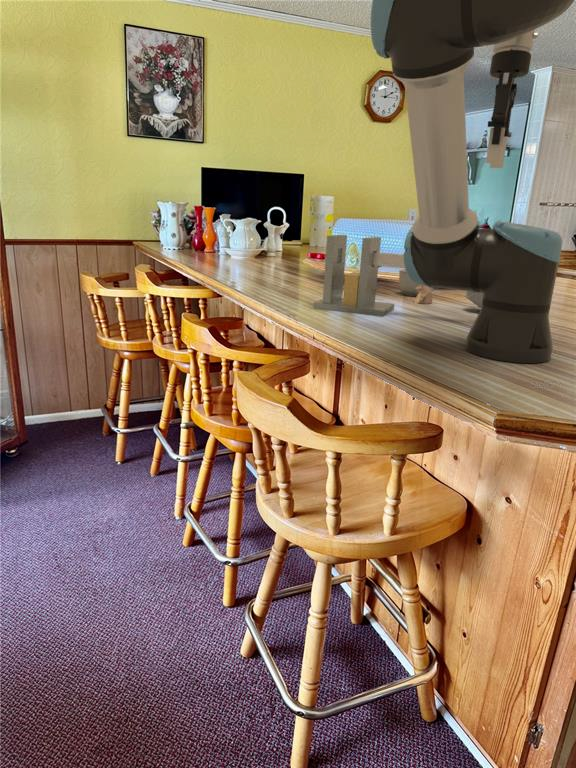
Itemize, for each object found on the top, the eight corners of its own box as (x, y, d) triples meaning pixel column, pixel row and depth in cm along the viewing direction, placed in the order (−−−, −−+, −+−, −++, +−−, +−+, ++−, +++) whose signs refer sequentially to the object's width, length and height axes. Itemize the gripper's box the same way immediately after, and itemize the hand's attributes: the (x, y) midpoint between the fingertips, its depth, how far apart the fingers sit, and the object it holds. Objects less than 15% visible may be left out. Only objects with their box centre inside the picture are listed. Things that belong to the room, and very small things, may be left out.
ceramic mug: (488, 319, 142) (511, 299, 138) (464, 302, 141) (486, 281, 136) (487, 299, 150) (508, 280, 145) (465, 283, 149) (485, 263, 144)
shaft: (474, 276, 124) (477, 258, 123) (371, 267, 133) (372, 250, 132) (476, 275, 127) (479, 257, 126) (375, 266, 136) (376, 250, 135)
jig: (382, 316, 131) (390, 240, 125) (313, 308, 137) (318, 235, 132) (393, 309, 141) (401, 238, 136) (329, 301, 148) (333, 234, 142)
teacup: (426, 299, 160) (430, 272, 158) (391, 295, 165) (394, 268, 163) (439, 294, 172) (442, 268, 169) (406, 290, 177) (409, 265, 174)
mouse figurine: (444, 305, 151) (447, 281, 149) (415, 304, 151) (418, 280, 149) (438, 302, 156) (441, 279, 154) (411, 301, 156) (414, 278, 154)
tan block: (356, 305, 135) (358, 276, 133) (342, 304, 136) (345, 274, 134) (364, 301, 142) (366, 273, 139) (351, 300, 143) (353, 272, 141)
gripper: (532, 33, 97) (511, 160, 104) (531, 67, 119) (514, 170, 126) (488, 36, 100) (470, 159, 107) (495, 69, 122) (481, 169, 129)
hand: (494, 165), depth 116 cm, fingers open, 13 cm apart
